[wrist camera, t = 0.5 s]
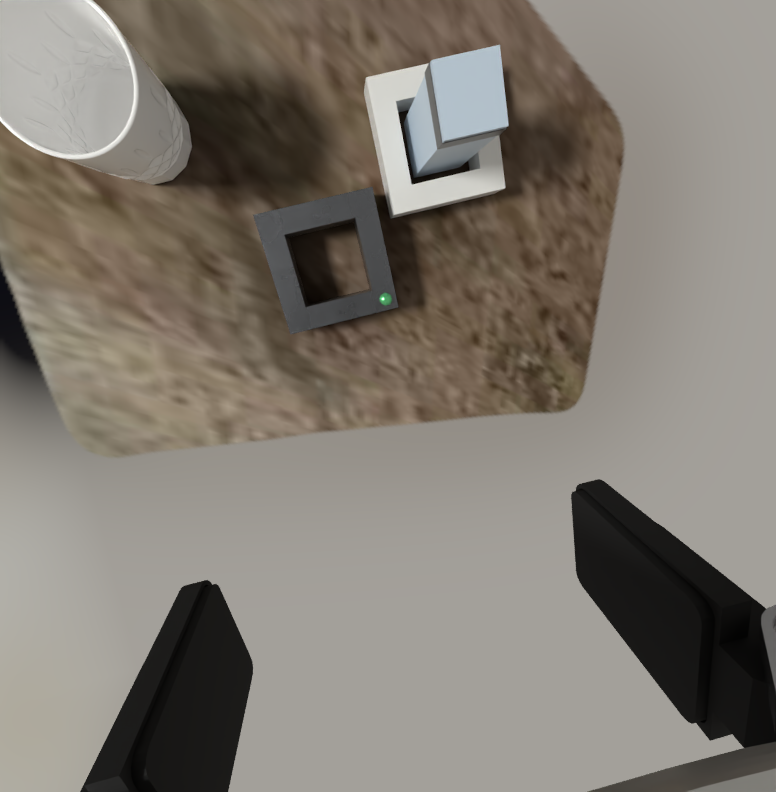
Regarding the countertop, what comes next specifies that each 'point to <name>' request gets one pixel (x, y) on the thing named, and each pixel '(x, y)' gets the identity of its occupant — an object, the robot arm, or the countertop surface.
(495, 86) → the plug
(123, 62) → the white cup
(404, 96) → the holster
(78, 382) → the countertop surface
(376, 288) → the port
